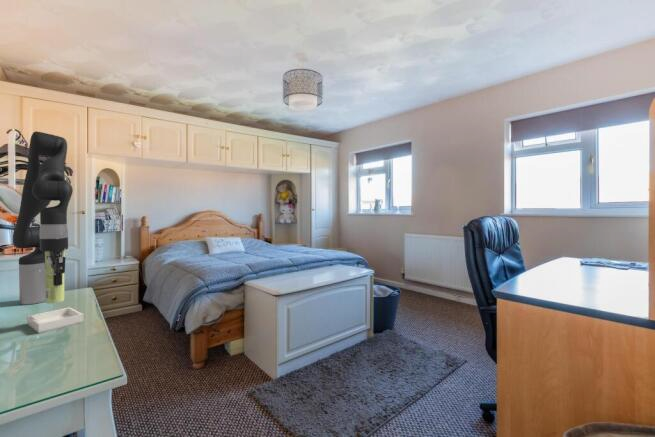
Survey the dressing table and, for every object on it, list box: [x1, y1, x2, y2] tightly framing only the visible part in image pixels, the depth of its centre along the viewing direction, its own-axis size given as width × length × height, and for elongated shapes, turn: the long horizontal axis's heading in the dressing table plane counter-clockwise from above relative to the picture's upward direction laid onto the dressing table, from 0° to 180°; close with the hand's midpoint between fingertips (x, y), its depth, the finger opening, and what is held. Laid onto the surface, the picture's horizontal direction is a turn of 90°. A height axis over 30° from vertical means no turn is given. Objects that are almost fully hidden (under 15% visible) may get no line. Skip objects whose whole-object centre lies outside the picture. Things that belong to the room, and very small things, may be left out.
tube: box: [45, 249, 66, 304], centre depth 108 cm, size 6×5×20 cm
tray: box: [26, 306, 85, 334], centre depth 109 cm, size 14×12×3 cm
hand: (55, 283), depth 108 cm, fingers closed on tube, 5 cm apart
